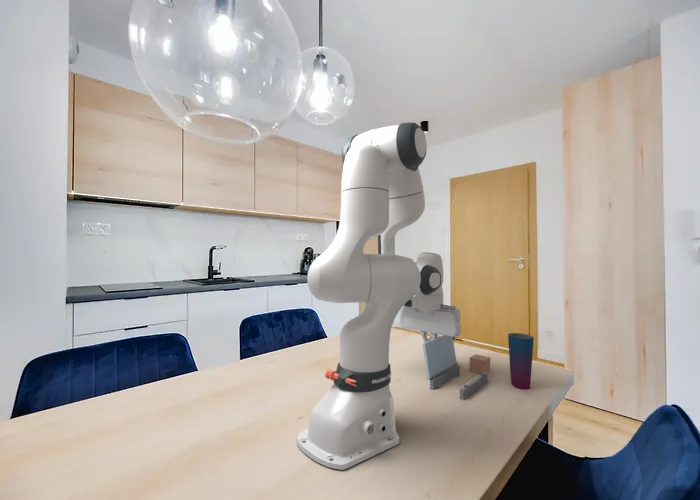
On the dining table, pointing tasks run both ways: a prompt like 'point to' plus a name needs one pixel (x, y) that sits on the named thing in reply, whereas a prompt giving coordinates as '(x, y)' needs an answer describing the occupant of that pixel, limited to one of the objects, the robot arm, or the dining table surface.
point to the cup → (520, 359)
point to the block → (479, 363)
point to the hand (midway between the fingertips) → (428, 345)
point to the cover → (439, 356)
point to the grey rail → (467, 388)
